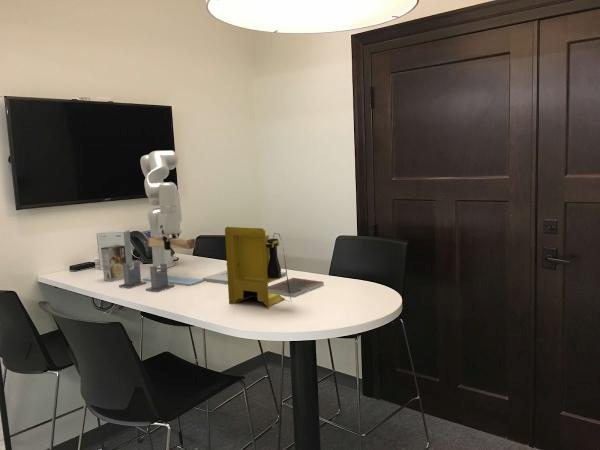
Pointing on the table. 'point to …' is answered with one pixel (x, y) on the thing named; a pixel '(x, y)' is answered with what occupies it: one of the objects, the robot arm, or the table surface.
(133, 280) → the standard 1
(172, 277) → the pad
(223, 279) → the award plaque
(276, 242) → the vintage telephone
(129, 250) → the hard drive box
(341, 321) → the table surface
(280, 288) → the picture frame
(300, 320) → the table surface
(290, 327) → the table surface
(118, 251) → the coffee box
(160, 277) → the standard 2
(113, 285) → the table surface
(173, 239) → the rail
